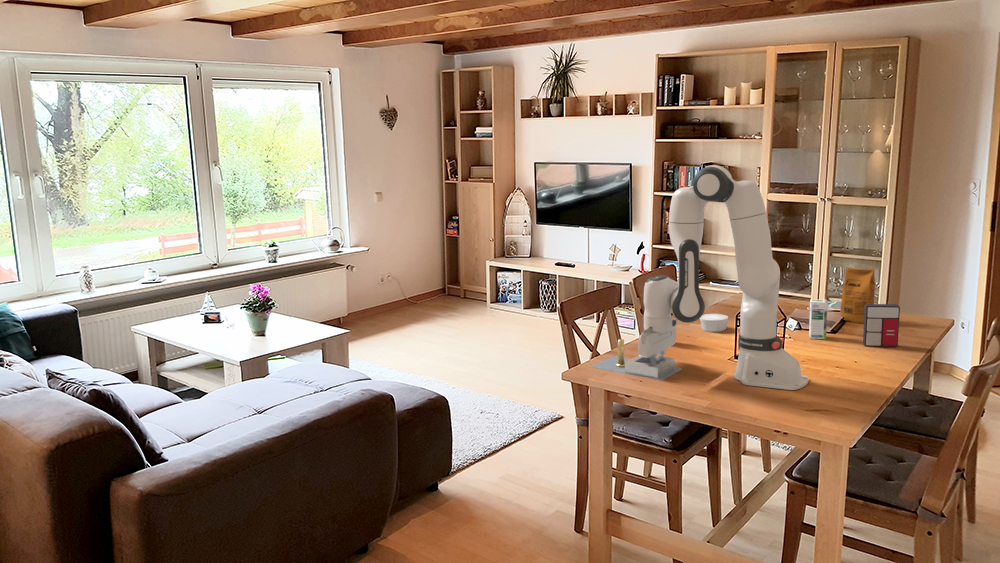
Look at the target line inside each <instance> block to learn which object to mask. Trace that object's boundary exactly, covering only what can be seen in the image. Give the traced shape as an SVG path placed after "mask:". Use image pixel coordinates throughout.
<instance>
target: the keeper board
mask: <svg viewBox="0 0 1000 563" xmlns="http://www.w3.org/2000/svg"><path fill="white" fill-rule="evenodd" d="M630 359H631V358H625V357H624V362H626V361H628V360H630ZM617 362H618V356H616V355H613V356H610V357H608V358H607V359H604V360H602V361H600V362H597V363H596V364H594V365H591V366H590V368H593V369H599V370H603V371H609V372H614V373H619V374H625V375H630V376H635V377H641V378H647V379H651V380H655V381H664V380H666V379H668V378H669V377H671V376H673V375H674V374H676V373H678V372H680V371H681V370H683V369H684V368H682V367H676V366H675V369H674V370H672V371H671V372H669V373H667V374H665V375H663V376H662V377H660V378H658V379H657V378H652V377H646V376H641V375H636V374H630V373H625V367H617V366H615V363H617Z"/></svg>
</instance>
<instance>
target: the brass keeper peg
mask: <svg viewBox="0 0 1000 563" xmlns="http://www.w3.org/2000/svg"><path fill="white" fill-rule="evenodd" d="M617 357H618V362H617V363H615V366H617V367H625V362H624V358H625V340H624V339H622V338H621V339H620V338H619V339H617Z"/></svg>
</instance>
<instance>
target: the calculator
mask: <svg viewBox="0 0 1000 563" xmlns="http://www.w3.org/2000/svg"><path fill="white" fill-rule="evenodd" d="M900 311H901V307H900V306H899V305H898V304H896V303H895V304H892V303H874V304H865V306H864V323H863V331H862V332H863V335H862V336H863V337H862V344H863V345H864V347H879V348H880V347H882V348H883V347H885V348H886V347H887V348H889V347H890V348H897V347H898V345H899V330H900Z"/></svg>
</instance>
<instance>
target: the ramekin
mask: <svg viewBox="0 0 1000 563" xmlns="http://www.w3.org/2000/svg"><path fill="white" fill-rule="evenodd" d="M699 320H700V327H701V329H702V330H703V331H705V332H709V333H710V332H711V333H720V332H724V331H725V330H726V329H727V327H728V322H729V316H728V315H725V314H721V313H705V314H703V315H702V316H701V317H700V318H699Z"/></svg>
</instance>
